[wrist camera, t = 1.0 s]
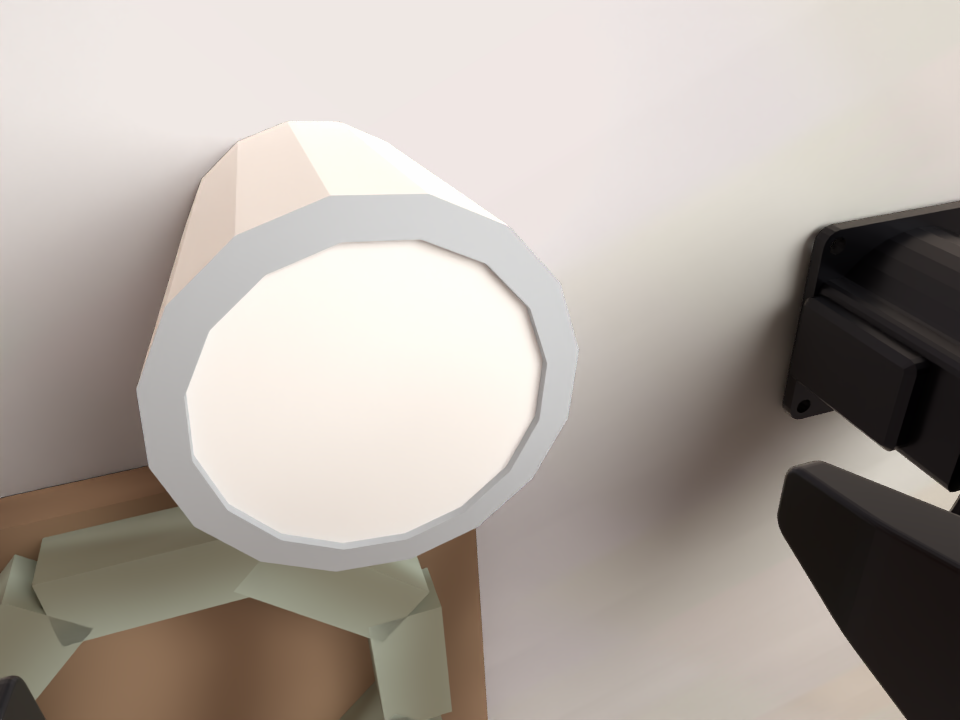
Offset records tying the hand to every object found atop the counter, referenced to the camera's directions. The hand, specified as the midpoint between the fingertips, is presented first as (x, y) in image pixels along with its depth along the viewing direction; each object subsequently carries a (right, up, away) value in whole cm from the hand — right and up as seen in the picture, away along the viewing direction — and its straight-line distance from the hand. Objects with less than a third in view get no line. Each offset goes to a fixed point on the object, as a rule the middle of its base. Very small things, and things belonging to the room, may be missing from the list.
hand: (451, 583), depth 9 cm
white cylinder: (-3, +5, +9) cm, 11 cm away
